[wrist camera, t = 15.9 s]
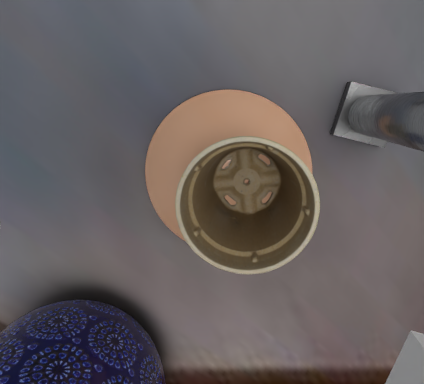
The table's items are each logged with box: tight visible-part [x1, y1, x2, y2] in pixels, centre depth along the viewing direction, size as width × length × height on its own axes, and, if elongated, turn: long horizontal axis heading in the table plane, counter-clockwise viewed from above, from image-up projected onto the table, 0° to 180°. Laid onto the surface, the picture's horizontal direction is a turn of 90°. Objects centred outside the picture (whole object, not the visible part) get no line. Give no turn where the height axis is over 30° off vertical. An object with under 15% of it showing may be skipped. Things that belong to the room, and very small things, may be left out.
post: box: [330, 81, 424, 151], centre depth 22 cm, size 4×4×14 cm
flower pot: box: [175, 136, 320, 274], centre depth 26 cm, size 9×9×9 cm
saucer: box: [145, 90, 312, 241], centre depth 31 cm, size 15×15×1 cm
